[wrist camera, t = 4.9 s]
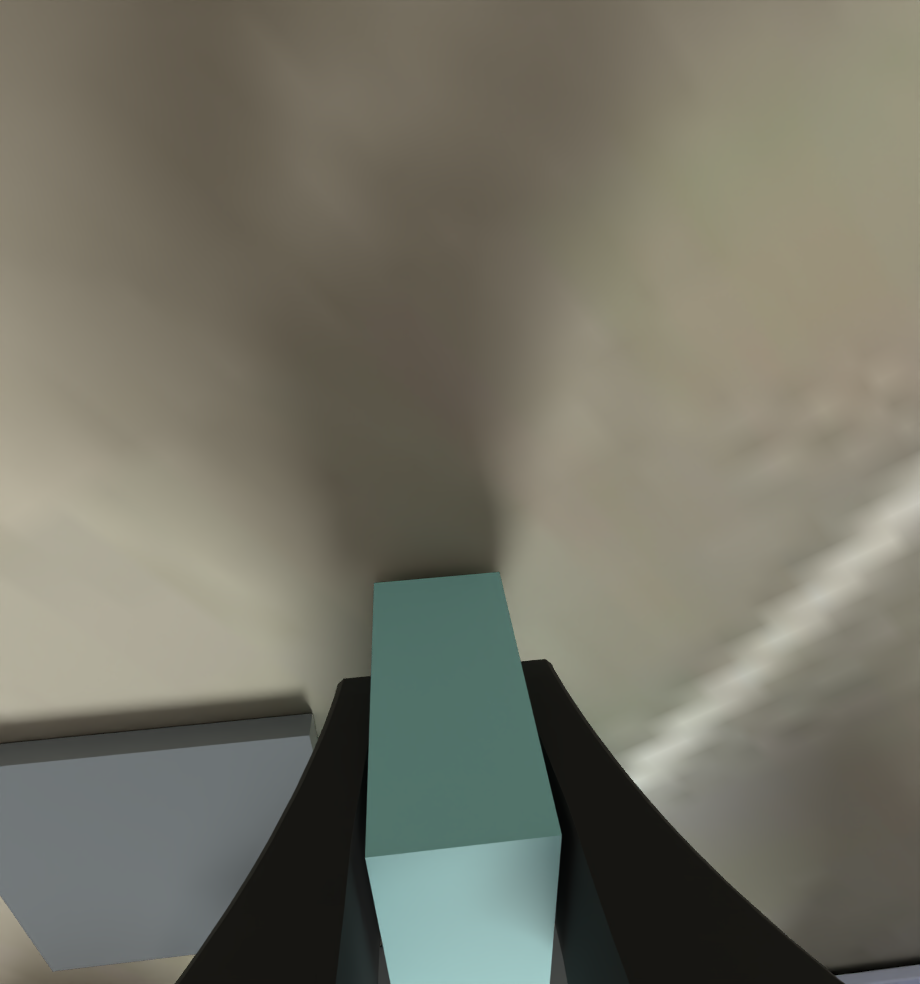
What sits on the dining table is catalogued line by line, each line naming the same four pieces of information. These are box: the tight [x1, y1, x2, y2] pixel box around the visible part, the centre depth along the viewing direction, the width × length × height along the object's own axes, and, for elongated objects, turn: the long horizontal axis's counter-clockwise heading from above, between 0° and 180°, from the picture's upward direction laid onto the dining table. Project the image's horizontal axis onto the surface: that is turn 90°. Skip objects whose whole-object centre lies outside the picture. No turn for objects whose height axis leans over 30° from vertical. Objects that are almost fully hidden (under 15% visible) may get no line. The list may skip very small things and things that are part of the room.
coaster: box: [0, 713, 318, 971], centre depth 16 cm, size 8×8×1 cm
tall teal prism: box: [365, 572, 562, 984], centre depth 13 cm, size 2×11×5 cm, turn 2°
